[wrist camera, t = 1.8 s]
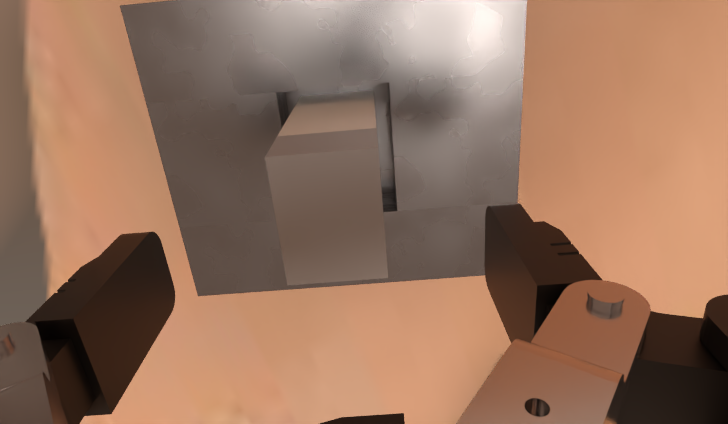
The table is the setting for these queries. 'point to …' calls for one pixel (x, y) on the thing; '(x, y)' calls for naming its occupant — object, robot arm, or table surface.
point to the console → (330, 76)
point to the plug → (329, 190)
